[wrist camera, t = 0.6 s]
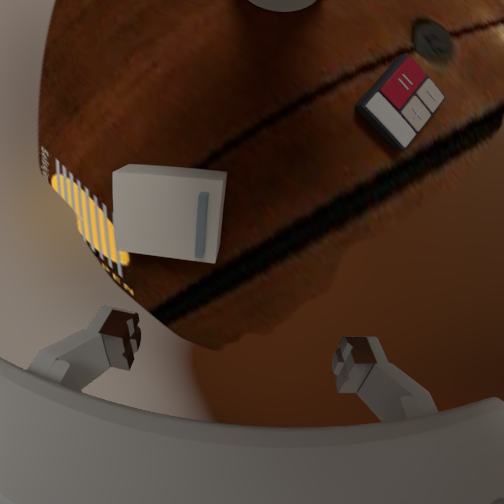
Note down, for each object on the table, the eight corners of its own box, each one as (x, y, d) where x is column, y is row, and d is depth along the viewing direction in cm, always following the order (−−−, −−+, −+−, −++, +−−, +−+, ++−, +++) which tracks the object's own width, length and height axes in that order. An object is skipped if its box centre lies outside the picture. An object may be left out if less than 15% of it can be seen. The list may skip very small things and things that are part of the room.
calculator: (448, 97, 36) (406, 152, 41) (435, 98, 40) (394, 149, 45) (409, 51, 33) (362, 105, 38) (397, 55, 37) (353, 107, 42)
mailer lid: (114, 171, 41) (105, 175, 38) (223, 180, 42) (221, 185, 39) (117, 248, 48) (110, 256, 45) (215, 261, 48) (213, 270, 46)
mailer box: (129, 164, 47) (115, 171, 41) (227, 171, 48) (223, 179, 42) (130, 234, 53) (118, 247, 48) (219, 245, 54) (215, 260, 49)
